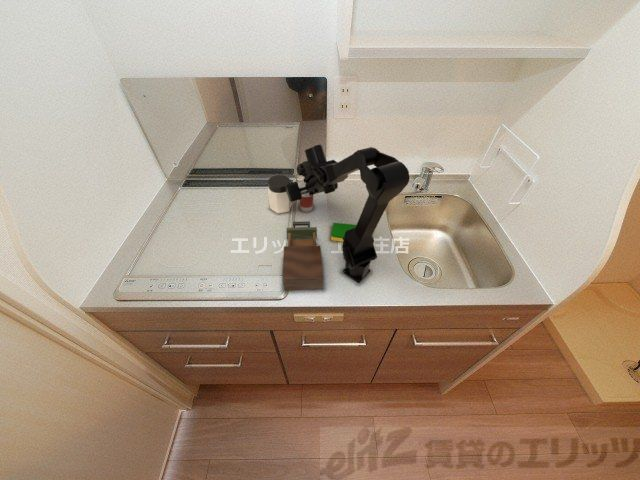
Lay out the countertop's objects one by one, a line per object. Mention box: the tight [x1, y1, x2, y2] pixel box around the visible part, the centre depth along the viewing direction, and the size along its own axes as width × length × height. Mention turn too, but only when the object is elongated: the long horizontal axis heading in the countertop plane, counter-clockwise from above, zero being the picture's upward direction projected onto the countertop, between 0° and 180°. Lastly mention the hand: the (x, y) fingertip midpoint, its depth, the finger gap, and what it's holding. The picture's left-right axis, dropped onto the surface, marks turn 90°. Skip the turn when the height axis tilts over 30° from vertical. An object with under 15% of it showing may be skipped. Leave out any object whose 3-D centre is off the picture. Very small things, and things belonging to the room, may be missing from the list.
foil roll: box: [298, 182, 314, 213], centre depth 103 cm, size 5×5×10 cm
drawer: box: [286, 221, 318, 246], centre depth 90 cm, size 16×10×4 cm, turn 4°
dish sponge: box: [330, 222, 357, 243], centre depth 96 cm, size 7×14×2 cm, turn 83°
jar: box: [267, 174, 293, 214], centre depth 102 cm, size 9×8×12 cm
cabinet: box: [282, 245, 324, 292], centre depth 82 cm, size 12×11×6 cm
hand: (304, 191), depth 102 cm, fingers open, 9 cm apart
